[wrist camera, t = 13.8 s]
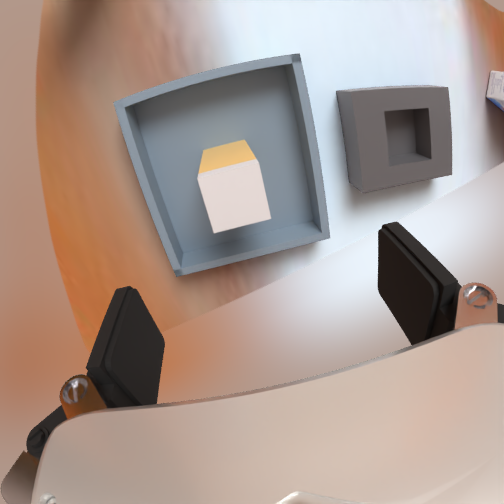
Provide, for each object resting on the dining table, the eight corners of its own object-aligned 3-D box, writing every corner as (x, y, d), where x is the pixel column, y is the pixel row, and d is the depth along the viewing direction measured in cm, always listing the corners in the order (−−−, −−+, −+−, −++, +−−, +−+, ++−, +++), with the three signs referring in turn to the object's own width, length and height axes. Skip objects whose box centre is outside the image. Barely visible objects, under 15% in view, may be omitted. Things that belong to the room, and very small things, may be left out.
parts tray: (289, 57, 24) (299, 53, 21) (319, 223, 33) (330, 238, 30) (125, 100, 24) (113, 102, 21) (179, 258, 33) (176, 276, 30)
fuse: (244, 139, 27) (259, 162, 19) (253, 178, 29) (271, 218, 21) (203, 150, 27) (197, 178, 19) (214, 188, 29) (214, 233, 21)
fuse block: (428, 85, 26) (448, 87, 23) (434, 166, 31) (451, 174, 28) (336, 90, 26) (350, 91, 23) (349, 182, 31) (363, 193, 28)
